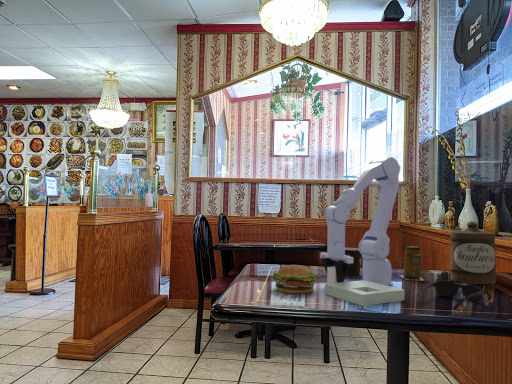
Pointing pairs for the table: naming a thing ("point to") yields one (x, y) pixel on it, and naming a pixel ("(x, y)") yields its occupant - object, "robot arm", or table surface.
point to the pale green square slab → (364, 292)
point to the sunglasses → (456, 291)
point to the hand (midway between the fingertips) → (335, 282)
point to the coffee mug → (354, 261)
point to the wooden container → (473, 256)
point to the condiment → (412, 263)
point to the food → (294, 279)
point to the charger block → (331, 275)
